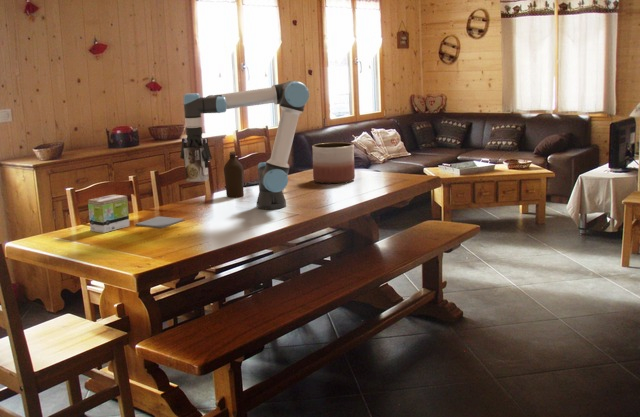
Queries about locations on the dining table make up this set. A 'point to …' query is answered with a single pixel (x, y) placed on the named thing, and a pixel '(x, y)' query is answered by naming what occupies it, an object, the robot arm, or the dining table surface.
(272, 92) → the robot arm
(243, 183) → the remote control
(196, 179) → the coffee box
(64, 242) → the dining table surface
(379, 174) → the dining table surface
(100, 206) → the tea box
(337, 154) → the planter
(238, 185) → the olive oil
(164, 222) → the charcoal mat
